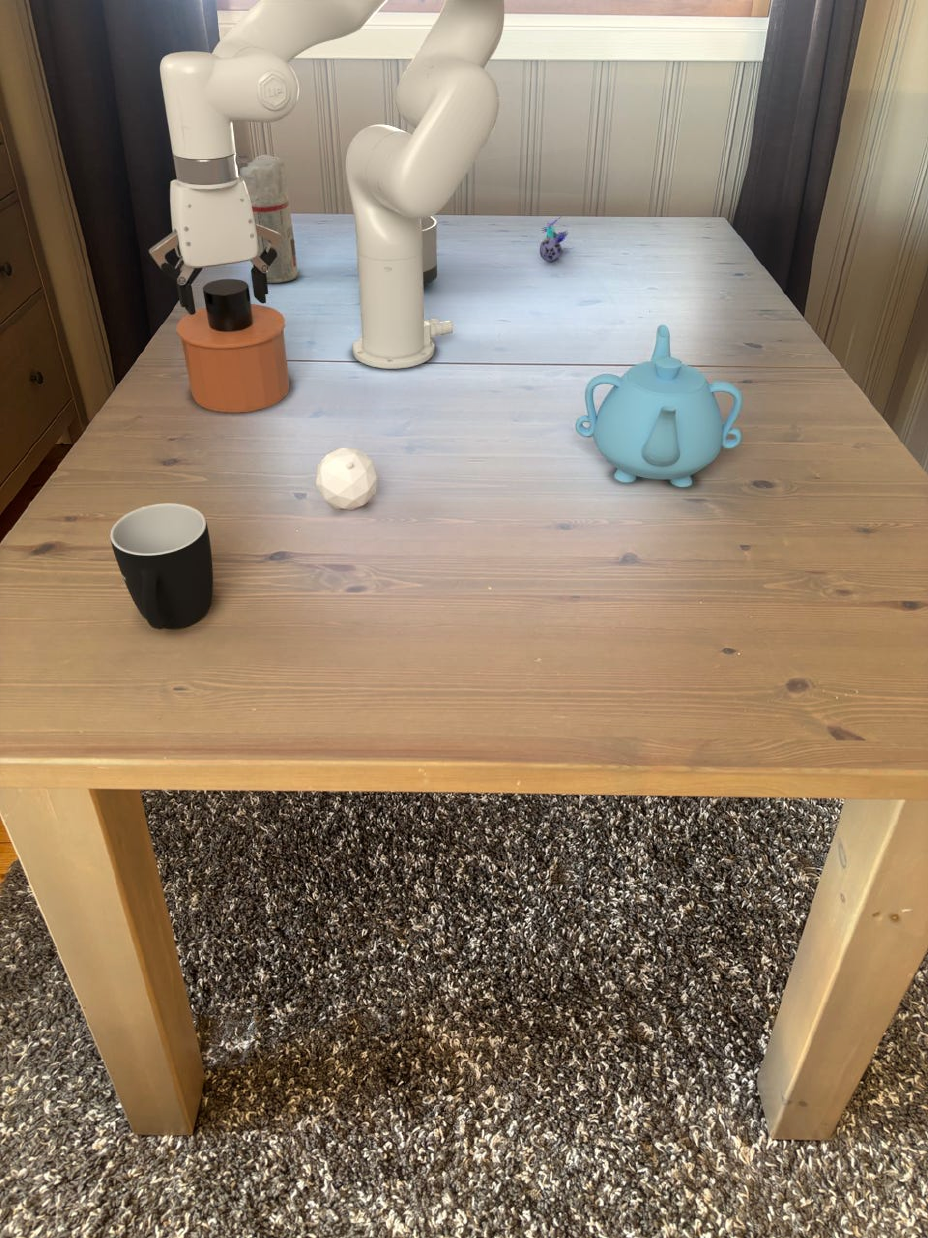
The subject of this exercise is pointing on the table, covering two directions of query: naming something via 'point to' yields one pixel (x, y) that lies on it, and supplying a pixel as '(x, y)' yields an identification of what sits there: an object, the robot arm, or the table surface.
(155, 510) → the mug
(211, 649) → the table surface
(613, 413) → the teapot
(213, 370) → the orange hollow cylinder
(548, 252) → the figurine
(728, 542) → the table surface
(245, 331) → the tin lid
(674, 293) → the table surface
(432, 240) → the planter
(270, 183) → the spray can
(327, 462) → the ornament
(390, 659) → the table surface
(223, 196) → the robot arm
